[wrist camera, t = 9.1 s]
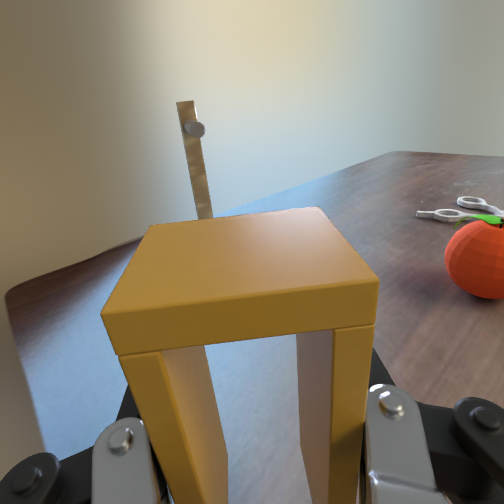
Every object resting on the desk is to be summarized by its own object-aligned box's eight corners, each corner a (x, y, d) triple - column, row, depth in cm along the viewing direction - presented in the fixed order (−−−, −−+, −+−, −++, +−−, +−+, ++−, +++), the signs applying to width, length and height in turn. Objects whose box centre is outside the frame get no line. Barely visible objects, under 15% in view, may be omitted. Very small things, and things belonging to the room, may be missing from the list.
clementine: (415, 274, 32) (425, 208, 29) (474, 262, 33) (490, 196, 30) (481, 323, 25) (505, 243, 22) (554, 306, 26) (587, 226, 23)
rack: (191, 262, 39) (157, 104, 31) (183, 234, 48) (155, 104, 40) (245, 250, 41) (226, 97, 33) (227, 225, 50) (209, 98, 41)
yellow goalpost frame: (204, 583, 10) (98, 313, 5) (209, 457, 14) (149, 224, 9) (350, 563, 10) (381, 279, 5) (318, 442, 14) (319, 205, 9)
